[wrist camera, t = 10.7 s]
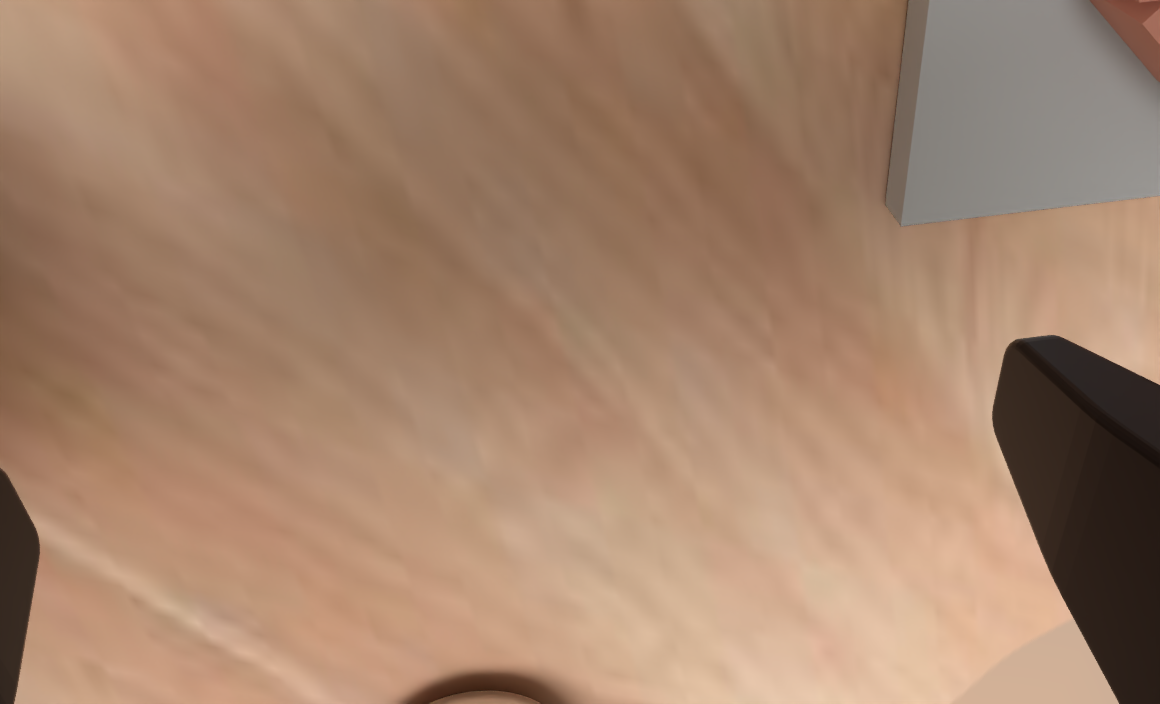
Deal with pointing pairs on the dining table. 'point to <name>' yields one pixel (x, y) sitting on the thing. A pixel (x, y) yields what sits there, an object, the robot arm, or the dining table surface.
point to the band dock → (1024, 107)
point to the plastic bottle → (485, 698)
